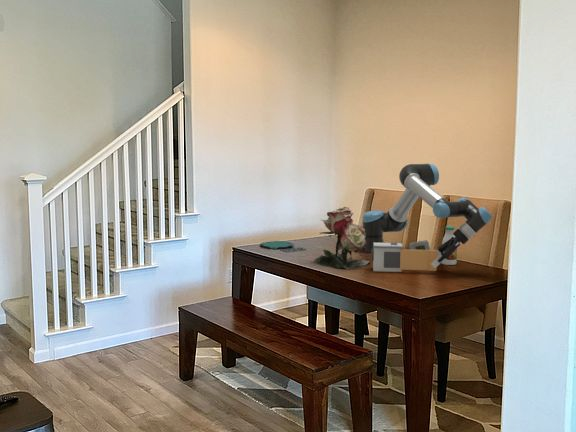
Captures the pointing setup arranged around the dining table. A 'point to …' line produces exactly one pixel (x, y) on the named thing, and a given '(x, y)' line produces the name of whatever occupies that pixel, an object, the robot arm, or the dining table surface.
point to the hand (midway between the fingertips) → (431, 263)
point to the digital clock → (419, 245)
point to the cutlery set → (280, 245)
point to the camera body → (386, 257)
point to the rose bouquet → (343, 240)
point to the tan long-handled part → (417, 259)
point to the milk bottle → (448, 235)
